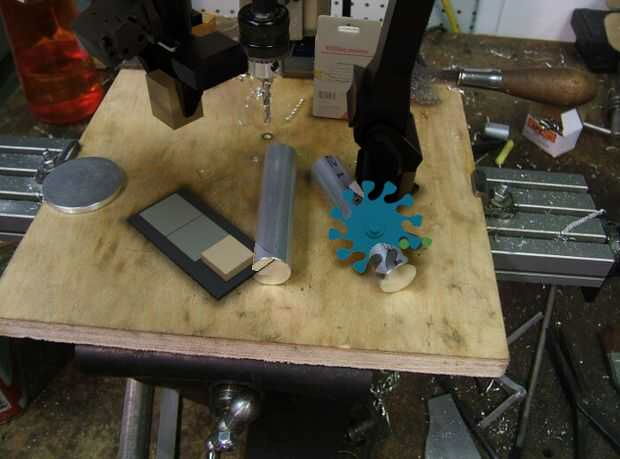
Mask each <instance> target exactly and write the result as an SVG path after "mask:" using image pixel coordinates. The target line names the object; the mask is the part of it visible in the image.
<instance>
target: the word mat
mask: <svg viewBox="0 0 620 459" xmlns="http://www.w3.org/2000/svg"><path fill="white" fill-rule="evenodd" d="M126 221H127V222H128V223H129V224H130V225H131V226H132V227H134V228H135V230H137V231H138V232H139V233H140V234H141V235H142V236H144V237H145V238H146V239H147V240H148V241H150V243H152V244H153V245H154V246H155V247H156V248H157V249H159V251H161V252H162V253H163V254H164V255H166V256H167V257H168V258H169V259H170V260H171V261H172V262H173V263H175V264H176V265H177V266H178V267H179V268H180V269H181V270H183V272H185V273H186V274H187V275H188V276H189V277H190V278H191V279H193V280H194V281H195V282H196V283H197V284H198V285H200V286H201V287H202V288H203V289H204V290H205V291H206V292H208V293H209V294H210V295H211V296H212V297H213V298H214V299H216V300H217V301H219V300H221V299H222V298H223V297H225V296H226V295H228V294H229V293H230V292H232V291H233V290H235V289H237V287H239V286H241V285H242V284H243V283H245V282H246V281H247V280H249V279H250V278H252V277H253V276H254V275H256V274H257V273H259V271H255V270H252V265H253V256H254V247H255V242H256V240H254V239H253V238H252V237H250V236H249V235H248V234H246V233H245V232H243V231H242V230H241V229H240V228H238V227H237V226H236V225H234V224H233V223H232V222H231V221H229V220H228V219H227V218H226V217H224V216H223V215H222V214H220V213H219V212H217V211H216V210H215V209H214V208H213V207H211V206H210V205H208V204H207V203H206V202H204V201H203V200H202V199H201V198H199V197H198V196H197V195H195V194H194V193H192V192H191V191H190V190H189V189H188V188H186V187H185V186H181V187H180V188H179V189H176V190H175V191H173V192H172V193H169V194H168V195H165V196H164V197H162V198H161V199H159V200H157V201H156V202H153V203H151V204H150V205H148V206H146V207H144V208H142V209H141V210H139V211H138V212H135V213H134V214H132V215H130V216H128V217H126Z"/></svg>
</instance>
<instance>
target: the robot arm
mask: <svg viewBox="0 0 620 459" xmlns="http://www.w3.org/2000/svg"><path fill="white" fill-rule="evenodd" d="M192 2H193V1H192V0H91V2H90V3H89V6H88V7H87V8H85V9H84V10H83V11H82V12H80V13H79V14H77V15H76V16H75V17H74V18H72V20H71V21H70V23H69V28H70V30H71V31H72V32H73V34H74V35H75V37H76V39H77V40H78V41H79V43H80V44H81V46H83V48H84V49H85V51H86V52H87V54H88V55H89V56H90V57H93V58H94V59H96V60H98V61H99V62H100V63H101V64H102V65H103V66H105V67H107V68H115V67H119V65H121V64H122V63H123V62H124V61H131V60H132V59H134V58H135V57H136V58H137V59H138V61H139V63H140V64H141V67H142V69H143V70H144V72H145V73H146V74H148V73H150V72H153V71H155V70H158V69H159V70H160V71H161V72H163V73H164V74H166V75H168V76H169V77H171V78H172V79H173V80H174V84H175V87H176V91H177V95H178V99H179V102H180V106H181V109H182V112H183V115H184V117H186V118H189V117H191V116H193V115H194V114H195V112H196V109H197V107H198V104H199V102H200V100H201V97H202V98H203V95H204V93H205V91H208V90H210V89H212V88H215V87H216V86H219V85H221V84H224V83H225V82H228V81H230V80H232V79H235V78H237V77H239V76H242V75H243V74H245V73H248V72H249V69H250V62H249V49H248V48H247V47H245V45H243V44H242V43H240V42H239V41H237V40H235V39H234V38H231V37H230V36H228V35H226V34H224V33H222V32H221V31H219V30H216V31H215V32H212V33H209V34H207V35H196V34H194V33H193V32H192V27H195V26H198V25H200V24H203V18H202V13H200V12H201V11H200V12H198V11H199V10H196V9H194V7H193V3H192ZM435 4H436V0H388V1H387V5H386V10H385V13H384V18H383V21H382V24H381V32H380V36H379V40H378V44H377V48H376V52H375V54H374V56H373V58H372V60H371V61H370V62H369V64H368V65H367V66H366V68H365V67H362V66H359V65H356V64H355V65H354V66H353V80H352V84H351V87H350V88H349V90H348V91H347V93H346V99H347V113H348V119H347V125H348V128H352V135H353V141H354V143H355V144H356V145H357V146H358V148H359V149H358V150H357V154H356V155H357V157H356V163H355V170H354V177H355V178H356V179H355V180H356V181H357V183H358V184H359V186H360V187H361V189H362V190H363V188H362V183H363V181H372V182H374V189H373V190H372V191H371V192H370V193H369V194H368V199H369V200H371V201H374V200H376V199H377V198H378V197H379V196H380V195H381V194H382V192H383V190H384V185H385V183H386V182H388V181H389V182H391V183H392V184H394V185H395V186H396V187H397V189H396V191H395V192H394V193H393V194H388V195H386V196H385V197H384V201H385V203H387V204H391V203H395V202H398V201H399V200H401V199H402V198H403V197H404V196H405V195H406V194H410V195H411V196H413V195H415V194H416V193H418V192H419V191H420V184H418V183H416V182H415V181H416V176H417V171H418V168H419V167H420V165H421V163H422V162H423V161H424V156H423V153H422V147H421V143H420V139H419V134H418V130H417V125H416V120H415V115H414V114H413V113H412V111H411V102H412V101H411V98H412V96H411V95H412V78H413V77H412V75H413V72H414V69H415V66H416V63H417V61H418V57H419V54H420V51H421V47H422V44H423V41H424V38H425V35H426V31H427V29H428V25H429V22H430V19H431V16H432V13H433V9H434V7H435ZM363 192H364V191H363ZM398 207H399V206H397V208H398Z"/></svg>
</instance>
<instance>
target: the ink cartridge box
mask: <svg viewBox="0 0 620 459" xmlns="http://www.w3.org/2000/svg"><path fill="white" fill-rule="evenodd" d="M349 25H350V26H349ZM381 28H382V22H381V20H380V19H367V18H359V17H358V18H357V17H349V16H334V15H325V14H320V15H318V17H317V29H316V35H315V39H314V64H313V65H314V67H313V93H312V116H314V117H319V118H320V117H321V118H331V119H340V120H348V113H347V99H346V93H347V91H348V90H349V88H350V87H351V84H352V80H353V66H354V65H355V64H356V65H359V66H362V67H365V68H366V66H367V65H368V64H369V62H370V61H371V60H372V58H373V56H374V54H375V52H376V48H377V44H378V40H379V36H380V32H381Z"/></svg>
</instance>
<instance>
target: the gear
mask: <svg viewBox="0 0 620 459" xmlns="http://www.w3.org/2000/svg"><path fill="white" fill-rule="evenodd" d="M362 188H363V191H364V198H362V200H361V203H360V204H359V205H355V204H354V203H353V200H354V198H355V193H354V192H353V190H352V189H346V190H344V191H342V192H341V197H342V199H343V201H346V203H347V204H348V206H349V208H350V216H349V217H347V218H345V217H344V216H343V213H342V209H341V208H340V207H339V206H337V205H334V206H333V208H331V209H330V212H329V213H328V216H329V217H330V218H333V219H335V220H336V219H337V220H340V221H341V222H342V223H343V224H344V225H345V226H346V227H347V232H346V233H344V234H342V233H341V232H340V231H339V229H338V228H336V227H330V228H329V229H328V234H327V235H328V240H330V241H335V240H338V239H345V240H348V241H350V242H352V244H353V246H352V248H350V249H347V248H344V247H339V248H337V249H336V255H337V257H338V259H339V261H345V260H346V259H347V258H348V257H349V256H350V255H351V254H354V253H356V252H363V253H364V254H365V258H364V259H362V260H357V261H355V262H354V263H353V265H352V267H353V269H354V270H355V271H357V272H358V273H360V274H363V273H364V272H365V271H366V269H367V264H368V262H369V260H370V259H369V253H370V250H371V249H372V247H374V246H375V245H376V244H378V243H385V244H389V245H393V246H395V247H397V248H398V249H400V250H401V249H403V250H406V249H407V250H411V251H418V250H420V249H421V248H422V247H424V248H429V247H431V246H432V244H433V240H432V238H431V237H429V236H424V237H422V238H421V237H420V236H419V235H416V234H414V233H411V232H409V231H407V230H405V229H404V227H403V222H405V221H407V222H409V223H410V224H411V225H412V226H413V227H415V228H420V227H421V226H422V224H423V215H421V214H419V213H417V214H413V215H403V214H400V213H398V211H397V208H398V207H399V206H404V207H406V208H410V207H412V206H413V205H414V204H415V201H414V198H413V197H412V196H413V195H412V196H411V195H410V194H406V195H405V196H404V197H403V198H402V199H401V200H399V201H398V202H395V203H391V204H387V203H385V201H384V197H385V196H386V195H388V194H393V193H394V192H395V191H396V189H397V187H396V186H395V185H394V184H392V183H391V182H389V181H388V182H386V183H385V185H384V190H383V192H382V194H381V195H380V196H379V197H378V198H377V199H376V200H374V201H371V200H369V199H368V194H369V193H370V192H371V191H372V190H373V189H374V182H372V181H363V183H362ZM397 206H398V207H397ZM400 247H401V248H400ZM401 251H402V250H401ZM375 273H376V274H378V273H377V272H376V271H375Z"/></svg>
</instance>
